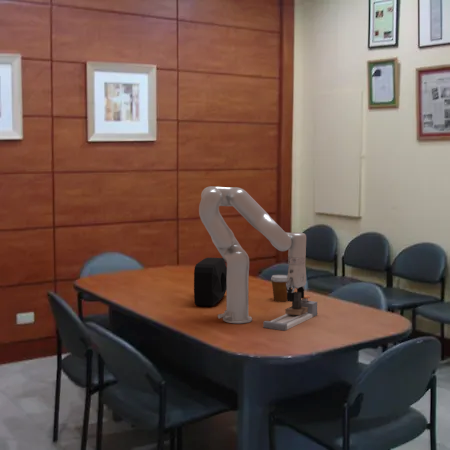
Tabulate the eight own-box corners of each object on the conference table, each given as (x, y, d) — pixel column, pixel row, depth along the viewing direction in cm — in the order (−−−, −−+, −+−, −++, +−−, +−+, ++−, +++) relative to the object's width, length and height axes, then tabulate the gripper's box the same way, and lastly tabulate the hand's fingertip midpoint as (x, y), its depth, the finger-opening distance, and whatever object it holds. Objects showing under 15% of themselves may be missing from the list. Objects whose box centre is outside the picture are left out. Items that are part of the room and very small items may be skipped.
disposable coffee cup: (274, 303, 344) (274, 278, 343) (268, 298, 353) (268, 275, 352) (292, 301, 347) (293, 277, 345) (286, 297, 356) (286, 274, 354)
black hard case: (208, 294, 364) (207, 255, 362) (231, 295, 362) (231, 256, 359) (193, 307, 335) (193, 265, 332) (219, 308, 332) (218, 266, 330)
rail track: (284, 330, 292) (284, 316, 292) (263, 327, 298) (263, 313, 297) (317, 314, 320) (317, 301, 319) (297, 312, 325) (297, 299, 324)
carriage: (299, 315, 308) (300, 295, 307) (285, 313, 311) (285, 293, 310) (307, 311, 314) (308, 291, 313) (293, 309, 318) (293, 290, 317)
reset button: (307, 302, 316) (307, 297, 316) (298, 301, 319) (298, 296, 318) (311, 300, 320) (311, 295, 320) (302, 299, 322) (302, 294, 322)
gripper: (295, 264, 301) (294, 304, 303) (313, 259, 316) (311, 297, 317) (280, 262, 305) (278, 301, 307) (297, 257, 319) (296, 295, 321)
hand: (295, 299), depth 312 cm, fingers open, 9 cm apart
